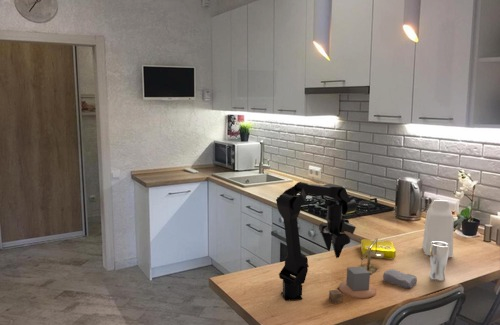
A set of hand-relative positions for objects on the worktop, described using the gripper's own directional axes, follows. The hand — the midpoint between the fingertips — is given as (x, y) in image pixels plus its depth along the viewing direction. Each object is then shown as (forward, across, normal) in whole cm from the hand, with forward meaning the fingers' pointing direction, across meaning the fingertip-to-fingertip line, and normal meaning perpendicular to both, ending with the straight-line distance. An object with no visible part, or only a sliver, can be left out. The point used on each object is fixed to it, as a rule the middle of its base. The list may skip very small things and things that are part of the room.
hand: (333, 253), depth 175 cm
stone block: (+12, -4, -28) cm, 31 cm away
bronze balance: (+12, +8, -20) cm, 25 cm away
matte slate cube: (+11, -9, -7) cm, 16 cm away
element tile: (+13, +28, -35) cm, 47 cm away
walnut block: (+12, -16, +5) cm, 21 cm away
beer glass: (+12, -4, -45) cm, 47 cm away
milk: (+12, +24, -64) cm, 69 cm away
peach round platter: (+12, -9, -7) cm, 17 cm away
